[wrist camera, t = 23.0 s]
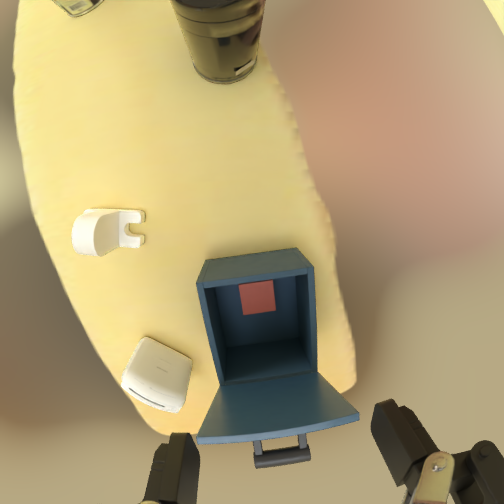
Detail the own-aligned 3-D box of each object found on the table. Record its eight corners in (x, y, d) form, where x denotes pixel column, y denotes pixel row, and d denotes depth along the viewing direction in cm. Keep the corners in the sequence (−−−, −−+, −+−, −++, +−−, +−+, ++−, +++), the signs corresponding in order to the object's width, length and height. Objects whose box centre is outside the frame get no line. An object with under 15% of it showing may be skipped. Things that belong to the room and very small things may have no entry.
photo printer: (197, 359, 45) (187, 408, 33) (187, 374, 46) (176, 423, 34) (144, 331, 43) (119, 374, 31) (136, 348, 44) (112, 392, 32)
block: (238, 274, 41) (238, 284, 36) (269, 269, 41) (272, 280, 36) (242, 302, 42) (243, 315, 37) (272, 297, 42) (276, 310, 37)
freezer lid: (195, 437, 19) (207, 480, 18) (359, 412, 19) (360, 457, 18) (219, 385, 35) (225, 417, 34) (318, 371, 35) (321, 403, 34)
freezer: (205, 260, 41) (195, 283, 31) (296, 247, 41) (313, 266, 31) (222, 348, 45) (220, 386, 35) (303, 337, 45) (317, 372, 35)
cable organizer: (89, 208, 38) (53, 216, 28) (145, 210, 39) (118, 219, 29) (89, 240, 39) (55, 256, 29) (144, 245, 40) (118, 263, 30)
